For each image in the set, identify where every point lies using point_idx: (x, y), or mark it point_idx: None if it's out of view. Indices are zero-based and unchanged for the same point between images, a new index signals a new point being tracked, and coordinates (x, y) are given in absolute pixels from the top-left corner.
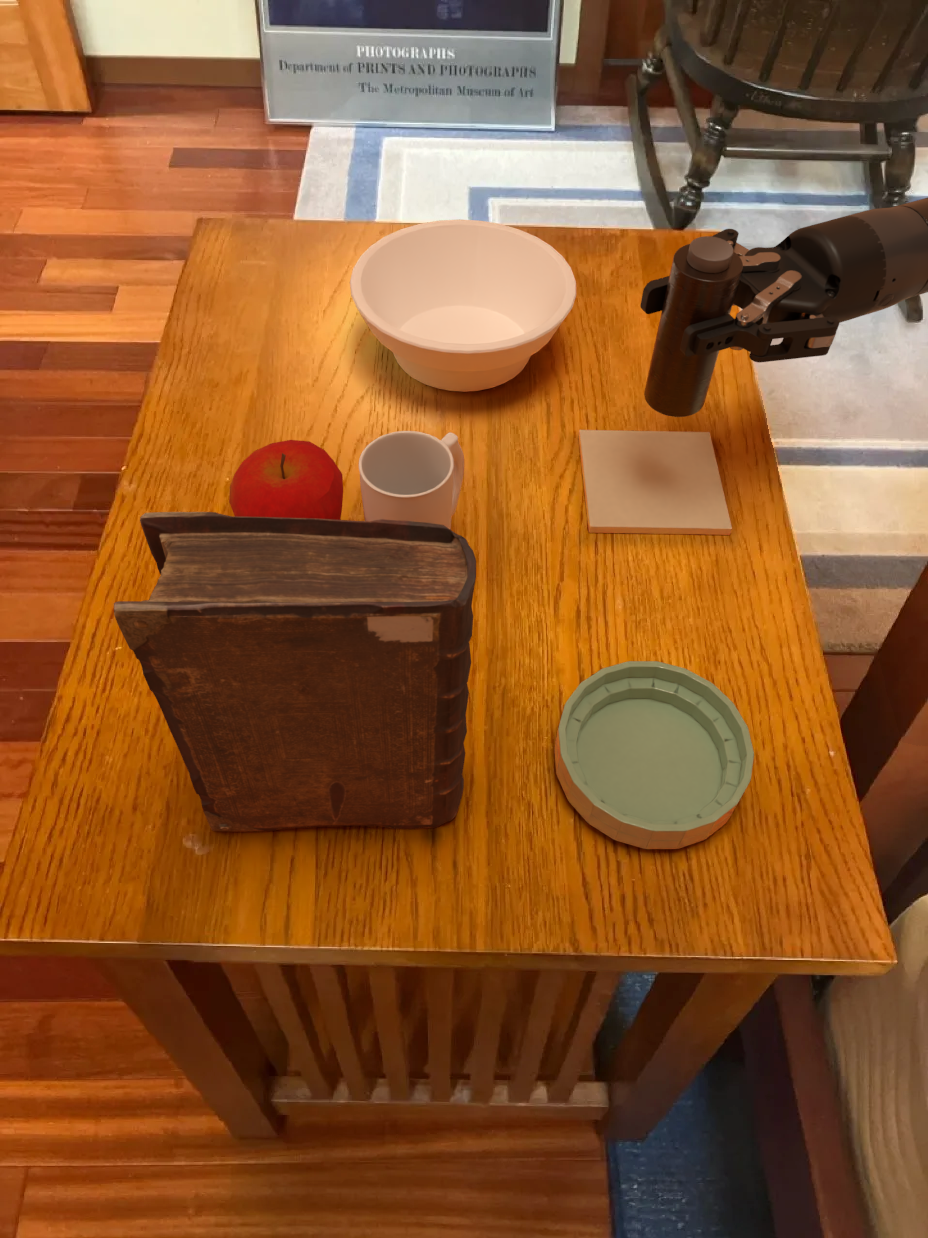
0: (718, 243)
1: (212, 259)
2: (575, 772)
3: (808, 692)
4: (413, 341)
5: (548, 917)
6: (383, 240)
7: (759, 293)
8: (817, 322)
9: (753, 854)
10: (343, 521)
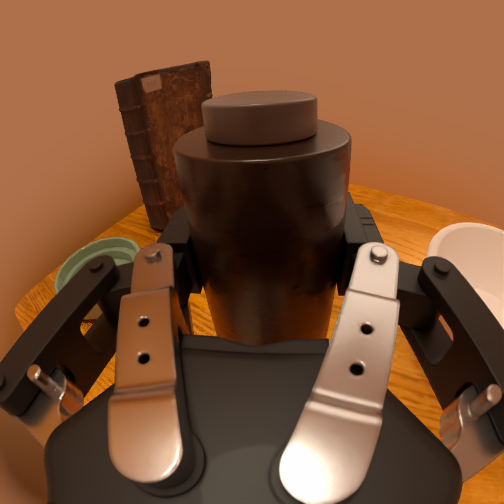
0: (266, 98)
1: None
2: (115, 238)
3: None
4: (438, 233)
5: (104, 237)
6: None
7: (168, 297)
8: (20, 361)
9: (54, 296)
10: (165, 68)
